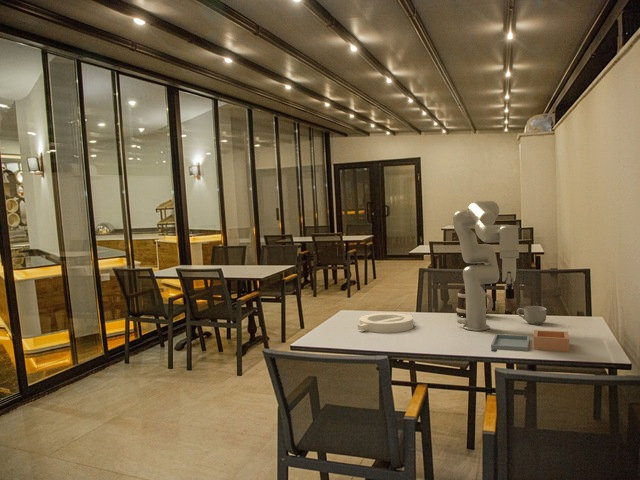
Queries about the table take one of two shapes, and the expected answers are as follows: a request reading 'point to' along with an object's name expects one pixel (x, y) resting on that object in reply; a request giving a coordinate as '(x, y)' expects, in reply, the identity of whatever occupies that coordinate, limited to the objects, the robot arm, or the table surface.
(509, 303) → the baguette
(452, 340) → the table surface
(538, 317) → the teacup
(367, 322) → the ring with crossbar
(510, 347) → the tray
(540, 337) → the open box
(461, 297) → the mug
